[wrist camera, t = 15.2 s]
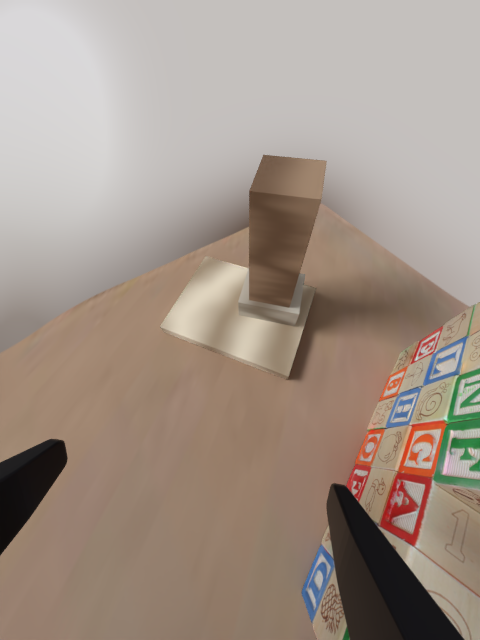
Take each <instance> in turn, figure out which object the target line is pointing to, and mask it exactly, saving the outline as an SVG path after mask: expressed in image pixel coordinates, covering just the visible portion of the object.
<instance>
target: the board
mask: <svg viewBox="0 0 480 640" xmlns="http://www.w3.org/2000/svg"><path fill="white" fill-rule="evenodd" d="M247 272H248V268H245V267H242V266H238V265H235V264H232V263H228V262H225V261H221V260H218V259H214V258H211V257H208V256H206V257H205V258H204V260H203V261H202V263H201V264H200V266H199V268H198V269H197V271H196V272H195V274H194V275H193V277H192V278H191V280H190V281H189V283H188V284H187V286H186V287H185V289H184V291H183V292H182V294H181V295H180V297H179V298H178V300H177V301H176V303H175V304H174V306H173V307H172V309H171V311H170V312H169V314H168V315H167V317H166V318H165V320H164V321H163V323H162V324H161V326H160V328H161V329H162V331H163V332H165V333H167V334H170V335H173V336H175V337H178V338H180V339H183V340H185V341H188V342H191V343H193V344H196V345H198V346H201V347H203V348H206V349H209V350H211V351H214V352H216V353H219V354H221V355H224V356H227V357H229V358H232V359H234V360H237V361H239V362H242V363H245V364H247V365H250V366H252V367H255V368H257V369H260V370H263V371H265V372H268V373H270V374H273V375H275V376H278V377H281V378H283V379H286V380H287V378H288V377H289V374H290V370H291V367H292V364H293V361H294V358H295V355H296V351H297V348H298V345H299V342H300V339H301V335H302V332H303V329H304V326H305V323H306V319H307V316H308V313H309V310H310V307H311V303H312V300H313V297H314V294H315V291H316V288H314V287H311V286H307V285H304V286H303V293H302V299H301V306H300V312H299V316H298V319H297V321H296V324H295V326H290V325H285V324H280V323H275V322H270V321H265V320H261V319H256V318H251V317H246V316H241V315H239V309H238V301H239V297H240V294H241V291H242V288H243V285H244V281H245V278H246V275H247Z"/></svg>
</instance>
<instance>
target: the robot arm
mask: <svg viewBox="0 0 480 640" xmlns="http://www.w3.org/2000/svg"><path fill="white" fill-rule="evenodd" d="M66 463H67V453H66V447H65V443H64V441H63V440H58V439H49V440H47V441H45V442H43V443H41V444H39V445H36V446H34V447H32V448H30V449H28V450H26V451H24V452H22V453H20V454H17V455H15V456H13V457H11V458H9V459H7V460H5V461H3V462H1V463H0V555H1V554H2V553H3V551H4V550H5V549H6V548H7V546H8V545H9V544H10V542H11V541H12V540H13V539H14V537H15V536H16V535H17V534H18V532H19V531H20V530H21V528H22V527H23V526H24V525H25V523H26V522H27V521H28V519H29V518H30V517H31V515H32V514H33V512H34V511H35V510H36V508H37V507H38V505H39V504H40V502H41V501H42V499H43V498H44V496H45V495H46V494H47V492H48V491H49V489H50V488H51V486H52V485H53V483H54V482H55V480H56V479H57V477H58V476H59V474H60V473H61V472H62V470H63V469H64V467H65V465H66ZM327 516H328V523H329V530H330V537H331V544H332V552H333V559H334V566H335V572H336V578H337V583H338V588H339V593H340V597H341V602H342V606H343V611H344V615H345V620H346V624H347V629H348V633H349V637H350V640H465V639H464V638H463V637H462V635H461V634H460V633H459V632H458V630H457V629H456V628H455V626H454V625H453V624H452V622H451V621H450V620H449V619H448V617H447V616H446V615H445V613H444V612H443V611H442V609H441V608H440V607H439V606H438V604H437V603H436V602H435V600H434V599H433V598H432V596H431V595H430V594H429V593H428V591H427V590H426V589H425V587H424V586H423V585H422V584H421V582H420V581H419V580H418V578H417V577H416V576H415V574H414V573H413V572H412V571H411V569H410V568H409V567H408V565H407V564H406V563H405V561H404V560H403V559H402V558H401V556H400V555H399V554H398V552H397V551H396V550H395V548H394V547H393V546H392V545H391V543H390V542H389V541H388V539H387V538H386V537H385V535H384V534H383V533H382V532H381V530H380V529H379V528H378V526H377V525H376V524H375V522H374V521H373V520H372V519H371V517H370V516H369V515H368V513H367V512H366V511H365V510H364V508H363V507H362V506H361V504H360V503H359V502H358V500H357V499H356V498H355V497H354V495H353V494H352V493H351V491H350V490H349V489H348V488H347V487H346V486H345V485H341V484H335V483H333V484H332V485H331V487H330V491H329V495H328V499H327Z"/></svg>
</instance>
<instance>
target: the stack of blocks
mask: <svg viewBox="0 0 480 640" xmlns="http://www.w3.org/2000/svg"><path fill="white" fill-rule="evenodd" d="M367 430H368V433H367V435H366V437H365V440H364V442H363V445H362V447H361V449H360V452H359V454H358V457H357V459H356V461H355V466H354V469H353V471H352V473H351V475H350V478H349V480H348V483H347V485H346V487H347V488H348V489H349V490H350V491H351V493H352V494H353V495H354V497H355V498H356V499H357V500H358V502H359V503H360V504H361V506H362V507H363V508H364V510H365V511H366V512H367V513H368V515H369V516H370V517H371V519H372V520H373V521H374V522H375V524H376V525H377V526H378V528H379V529H380V530H381V532H382V533H383V534H384V535H385V537H386V538H387V539H388V541H389V542H390V543H391V545H392V546H393V547H394V548H395V550H396V551H397V552H398V554H399V555H400V556H401V558H402V559H403V560H404V561H405V563H406V564H407V565H408V567H409V568H410V569H411V571H412V572H413V573H414V574H415V576H416V577H417V578H418V580H419V581H420V582H421V584H422V585H423V586H424V587H425V589H426V590H427V591H428V593H429V594H430V595H431V596H432V598H433V599H434V600H435V602H436V603H437V604H438V606H439V607H440V608H441V609H442V611H443V612H444V613H445V615H446V616H447V617H448V619H449V620H450V621H451V622H452V624H453V625H454V626H455V628H456V629H457V630H458V632H459V633H460V634H461V635H462V637H463V638H464V639H465V640H480V302H479V303H478V304H475V305H473V306H471V307H470V308H468V309H467V310H465V311H463V312H462V313H460V314H459V315H457V316H456V317H454V318H452V319H451V320H449V321H448V322H446V323H445V324H444V326H442V327H440V328H439V329H437V330H435V331H434V332H433V333H431V334H430V335H428V336H427V337H425V338H424V339H422V340H421V341H417V342H415V343H414V344H413V345H411V346H410V347H408V348H407V349H405V350H404V351H402V352H401V353H400V355H399V358H398V360H397V362H396V365H395V367H394V369H393V372H392V374H391V375H390V376H389V379H388V381H387V383H386V386H385V388H384V390H383V393H382V395H381V397H380V400H379V403H378V405H377V407H376V409H375V411H374V414H373V416H372V419H371V421H370V424H369V426H368V429H367ZM302 596H303V599H304V602H305V605H306V608H307V610H308V613H309V616H310V619H311V622H312V624H313V629H314V631H315V634H316V637H317V640H350V637H349V633H348V629H347V624H346V620H345V615H344V611H343V606H342V602H341V597H340V593H339V588H338V583H337V578H336V572H335V566H334V559H333V552H332V544H331V537H330V530H329V525H328V527H327V529H326V532H325V534H324V537H323V539H322V543H321V546H320V548H319V550H318V552H317V555H316V557H315V559H314V562H313V564H312V567H311V570H310V572H309V574H308V577H307V579H306V582H305V584H304V587H303V589H302Z"/></svg>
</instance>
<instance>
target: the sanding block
mask: <svg viewBox="0 0 480 640" xmlns="http://www.w3.org/2000/svg"><path fill="white" fill-rule="evenodd" d="M325 169H326V161H322V160H311V159H301V158H291V157H279V156H269V155H263V158H262V160H261V163H260V165H259V168H258V170H257V173H256V176H255V178H254V181H253V183H252V186H251V188H250V191H249V195H250V196H249V197H250V198H249V201H250V202H249V209H250V210H249V268H248V272H247V275H246V278H245V281H244V285H243V288H242V291H241V294H240V297H239V301H238V309H239V315H241V316H246V317H251V318H256V319H261V320H265V321H270V322H275V323H280V324H285V325H290V326H295V324H296V321H297V319H298V316H299V312H300V306H301V299H302V293H303V286H304V279H305V274H300V270H301V267H302V264H303V260H304V257H305V253H306V250H307V247H308V243H309V240H310V236H311V233H312V230H313V226H314V223H315V219H316V216H317V213H318V209H319V206H320V202H321V199H322V191H323V184H324V176H325Z"/></svg>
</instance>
